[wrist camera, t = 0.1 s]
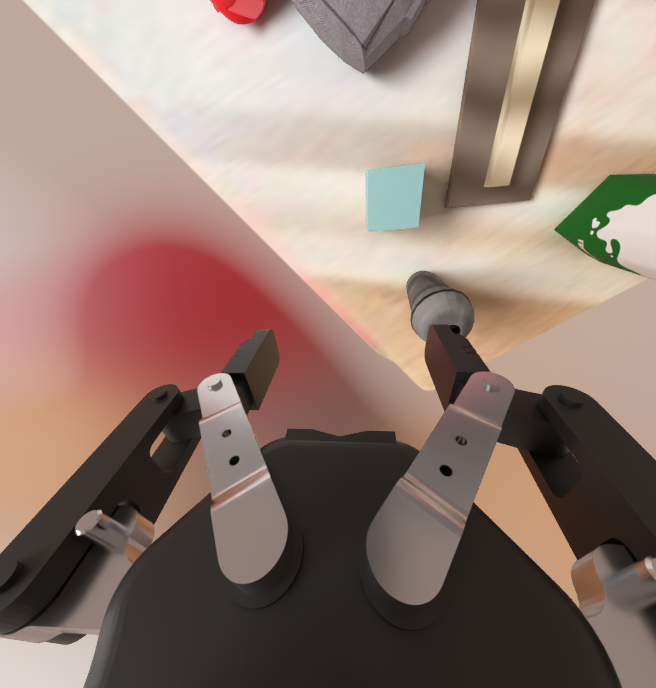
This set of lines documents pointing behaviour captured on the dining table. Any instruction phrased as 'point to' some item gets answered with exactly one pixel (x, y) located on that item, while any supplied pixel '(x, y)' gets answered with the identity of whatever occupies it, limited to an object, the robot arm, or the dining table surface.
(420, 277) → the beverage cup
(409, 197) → the saddle block
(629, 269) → the milk carton
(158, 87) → the dining table surface
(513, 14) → the cleat board
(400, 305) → the dining table surface
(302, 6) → the soft grey pack
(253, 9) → the cap
